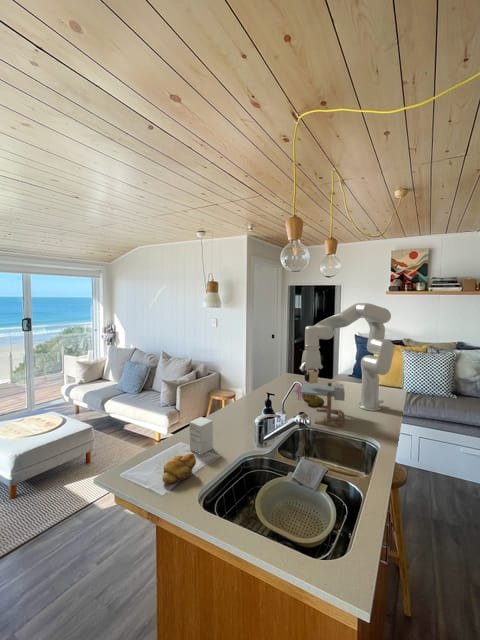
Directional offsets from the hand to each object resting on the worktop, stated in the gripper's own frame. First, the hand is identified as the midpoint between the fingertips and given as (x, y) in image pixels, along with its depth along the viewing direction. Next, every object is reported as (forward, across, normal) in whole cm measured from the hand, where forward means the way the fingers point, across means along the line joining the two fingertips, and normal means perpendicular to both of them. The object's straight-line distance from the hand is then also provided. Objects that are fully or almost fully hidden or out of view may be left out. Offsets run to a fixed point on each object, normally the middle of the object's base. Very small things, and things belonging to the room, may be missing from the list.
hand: (311, 380), depth 171 cm
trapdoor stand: (+20, -8, +6) cm, 22 cm away
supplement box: (+20, +67, +15) cm, 72 cm away
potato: (+20, -11, -13) cm, 27 cm away
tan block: (+1, 0, 0) cm, 1 cm away
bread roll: (+20, +81, +31) cm, 89 cm away
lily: (+20, -12, -27) cm, 36 cm away
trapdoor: (+7, -5, +4) cm, 10 cm away
